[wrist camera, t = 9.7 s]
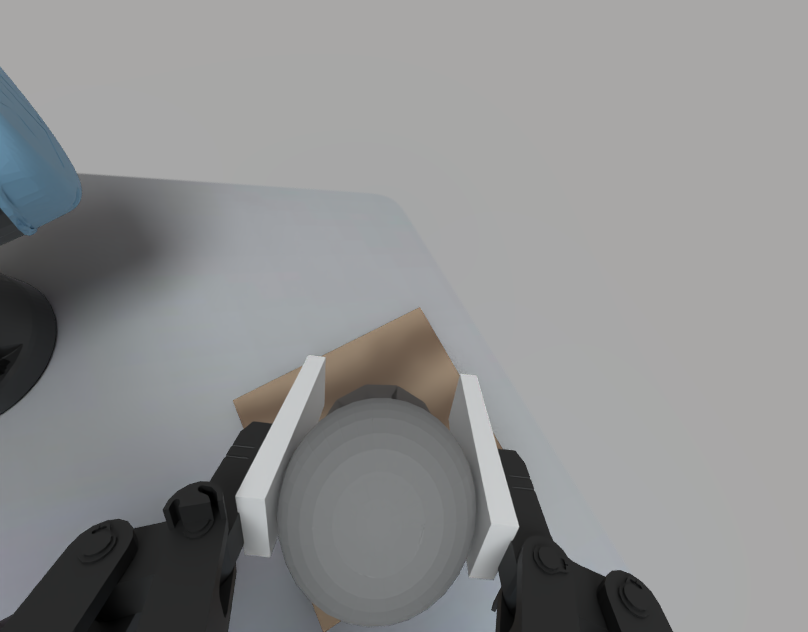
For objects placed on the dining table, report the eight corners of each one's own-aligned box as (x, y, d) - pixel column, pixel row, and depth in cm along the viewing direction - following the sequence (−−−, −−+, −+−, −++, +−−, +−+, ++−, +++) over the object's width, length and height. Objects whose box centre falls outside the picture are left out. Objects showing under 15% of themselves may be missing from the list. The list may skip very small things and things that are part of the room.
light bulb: (415, 392, 18) (455, 361, 9) (452, 508, 17) (550, 624, 7) (308, 427, 17) (222, 434, 8) (336, 553, 16) (270, 757, 6)
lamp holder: (237, 401, 31) (217, 398, 27) (418, 310, 35) (423, 296, 32) (325, 625, 26) (316, 659, 23) (523, 490, 31) (543, 499, 27)
